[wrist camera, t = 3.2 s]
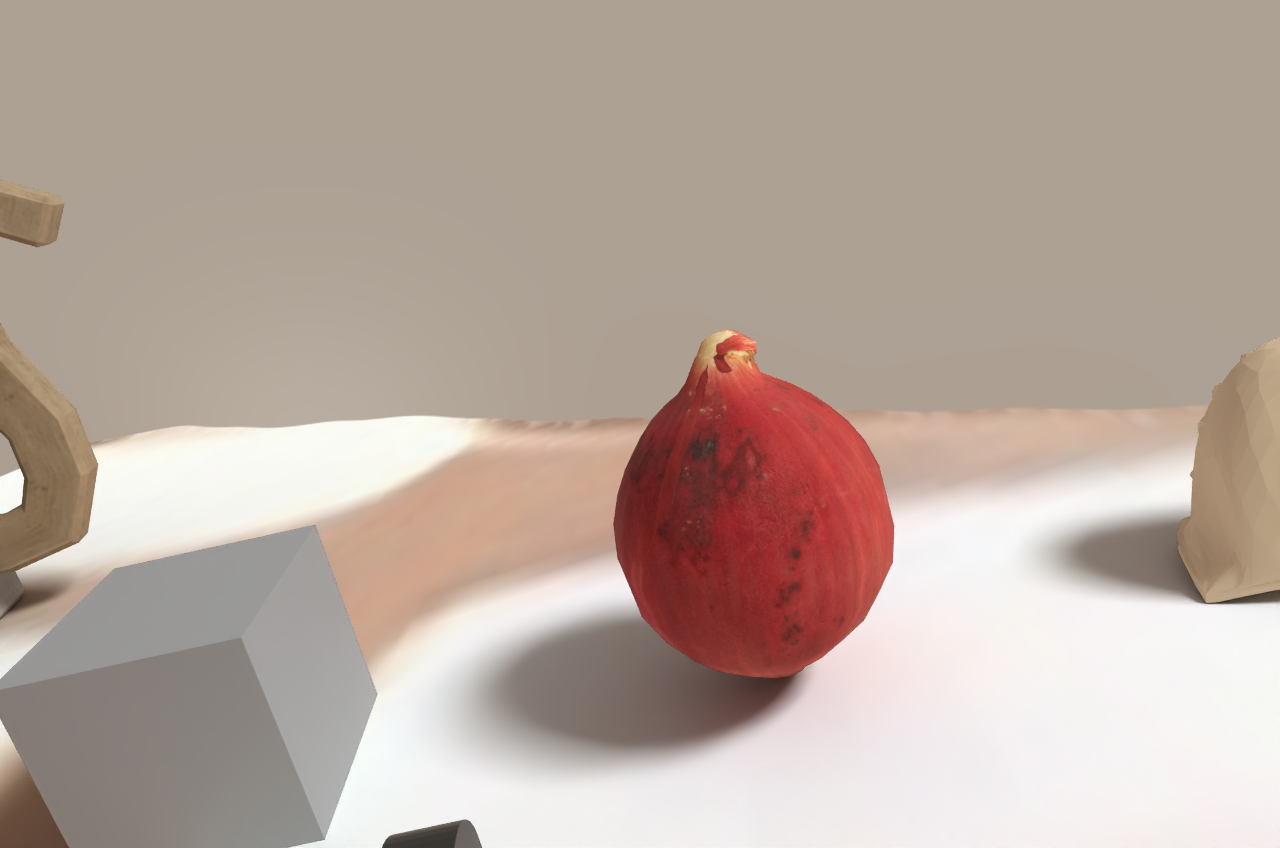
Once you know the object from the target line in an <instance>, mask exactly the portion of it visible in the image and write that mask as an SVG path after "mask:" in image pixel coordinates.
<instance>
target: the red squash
mask: <svg viewBox="0 0 1280 848" xmlns="http://www.w3.org/2000/svg"><path fill="white" fill-rule="evenodd" d="M755 354H756V342H755V341H753V340H751V339H750V338H748V337H746V336H744V335H742V334H741V333H739V332H737V331H733V330H730V329H724V330H723V331H721V332H719V333H715V334H713V335H711V336H710V337H708V338H707V339H705V340H704V341H702V343H701V346H700V348H699V351H698V353H697V356H696V358H695V359H694V362H693V364H692V367H691V370H690V372H689V375H688V378H687V380H686V383H685V384H684V386H683V387H682V389H681V390H680V392H679V393H678V395H677V396H675V397H674V398H673V399H672V400H670V401H669V402H668V403H667V404H666V405H665V406H664V407H663V408H662V409H661V410H660V411H659V412H658V413H657V415H656V416H655V417H654V418H653V419H652V420H651V422H650V423H649V425H648V426H647V428H646V429H645V431H644V433H643V434H642V436H641V437H640V439H639V442H638V444H637V446H636V448H635V450H634V452H633V454H632V456H631V458H630V460H629V462H628V464H627V467H626V469H625V471H624V475H623V478H622V481H621V485H620V488H619V491H618V495H617V502H616V509H615V516H614V524H613V525H614V533H615V541H616V550H617V558H618V560H619V563H620V565H621V567H622V570H623V572H624V575H625V577H626V579H627V582H628V584H629V586H630V589H631V591H632V594H633V596H634V598H635V601H636V603H637V606H638V608H639V610H640V613H641V615H642V617H643V618H644V619H645V620H646V621H647V622H648V623H649V624H650V625H651V627H652V628H653V629H654V630H655V631H656V632H657V633H658V634H659V635H660V636H661V637H662V638H663V639H664V640H665V641H666V642H667V643H668V644H670V645H671V646H673V647H674V648H676V649H677V650H679V651H680V652H682V653H683V654H685V655H686V656H688V657H689V658H691V659H692V660H694V661H695V662H698V663H700V664H702V665H705V666H707V667H709V668H712V669H714V670H716V671H719V672H725V673H731V674H738V675H744V676H750V677H763V678H775V679H779V678H784V677H789V676H792V675H795V674H797V673H798V672H800V671H802V670H803V669H804V667H806V666H808V665H810V664H812V663H813V662H815V661H817V660H819V659H820V658H822V657H823V656H825V655H826V654H827V653H828V652H829V651H830V650H832V649H833V648H834V647H835V646H836V645H837V644H839V643H840V642H841V641H842V640H843V639H844V638H845V637H847V636H848V635H849V634H850V633H851V632H852V631H853V630H854V629H855V628H856V627H857V626H858V625H859V624H860V623H862V622H863V621H864V619H865V618H866V616H867V614H868V612H869V610H870V608H871V606H872V604H873V603H874V601H875V599H876V597H877V595H878V593H879V591H880V589H881V587H882V584H883V582H884V580H885V578H886V576H887V574H888V571H889V569H890V567H891V565H892V563H893V544H894V523H893V519H892V515H891V511H890V507H889V503H888V499H887V495H886V491H885V487H884V483H883V479H882V475H881V471H880V467H879V464H878V463H877V461H876V459H875V457H874V455H873V454H872V452H871V450H870V448H869V447H868V445H867V443H866V441H865V440H864V439H863V438H862V436H861V435H860V434H859V433H858V432H857V431H856V429H855V428H854V427H853V426H852V425H851V424H850V422H849V421H848V420H846V419H845V418H844V417H843V416H841V415H840V414H839V413H838V412H837V411H835V410H834V409H833V408H832V407H830V406H829V405H828V404H826V403H825V402H823V401H822V400H820V399H819V398H817V397H816V396H814V395H813V394H811V393H809V392H807V391H805V390H803V389H801V388H799V387H797V386H795V385H793V384H791V383H788V382H786V381H783V380H780V379H777V378H774V377H772V376H769V375H766V374H764V373H761V372H760V371H759V368H758V366H757V364H756V362H755V360H754V358H753V356H754V355H755Z"/></svg>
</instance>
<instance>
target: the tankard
mask: <svg viewBox="0 0 1280 848" xmlns="http://www.w3.org/2000/svg"><path fill="white" fill-rule="evenodd" d="M63 208H64V202H63V201H62V199H61V198H60V197H59V196H58V195H54V194H50V193H47V192H43V191H39V190H36V189H32V188H28V187H25V186H21V185H17V184H14V183H9V182H6V181H2V180H0V236H1V237H4V238H7V239H10V240H14V241H18V242H21V243H24V244H28V245H32V246H35V247H40V246H44V245H47V244H50V243H52V242H54V241H56V239H57V235H58V230H59V226H60V221H61V217H62V212H63ZM0 432H1V433H2V434H3V435H4V436H5V437H6V438H7V439H8V440H9V442H10V445H11V447H12V450H13V452H14V455H15V457H16V459H17V462H18V464H19V466H20V469H21V471H22V474H23V476H24V486H23V497H22V504H21V505H20V506H18V507H16V508H14V509H13V510H11V511H9V512H7V513H5V514H0V619H1V618H2V617H3V616H4V615H5V614H6V613H7V612H8V611H9V609H10V608H11V607H12V606H13V605H14V604H15V603H16V602H17V601H18V600H19V599H20V597H21V595H22V594H23V592H24V588H23V586H22V584H21V582H20V580H19V578H18V576H17V574H16V572H15V571H17V570H19V569H21V568H23V567H25V566H28V565H30V564H32V563H34V562H37V561H39V560H41V559H43V558H45V557H48V556H50V555H52V554H54V553H56V552H59V551H61V550H63V549H65V548H68V547H70V546H72V545H74V544H76V543H79V542H80V540H81V539H82V538H83V537H84V536H85V535H86V534H87V533H88V528H89V521H90V515H91V508H92V501H93V495H94V488H95V482H96V475H97V468H98V463H97V460H96V458H95V455H94V453H93V450H92V448H91V445H90V443H89V441H88V438H87V435H86V433H85V431H84V428H83V425H82V423H81V420H80V418H79V415H78V413H77V410H76V408H75V407H74V406H73V405H72V404H71V403H70V402H69V401H68V400H67V399H66V398H65V397H64V396H63V395H62V394H61V393H60V391H59V390H57V388H56V387H55V386H54V385H53V384H52V383H51V382H50V381H49V380H48V379H47V378H46V377H45V376H44V375H43V374H42V373H41V372H40V371H39V370H38V369H37V368H36V367H35V366H34V364H32V362H31V361H29V359H28V358H27V357H26V356H25V355H24V354H23V353H22V352H21V351H20V350H19V349H18V348H17V347H16V346H15V345H14V344H13V343H12V342H11V341H10V339H9V337H8V336H7V334H6V332H5V330H4V329H3V327H2V325H1V323H0Z"/></svg>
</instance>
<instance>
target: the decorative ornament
mask: <svg viewBox="0 0 1280 848" xmlns="http://www.w3.org/2000/svg"><path fill="white" fill-rule="evenodd" d="M1212 394H1213V395H1212V401H1211V403H1210V405H1209V407H1208V409H1207V411H1206V413H1205V415H1204V417H1203V418H1202V419H1201V420H1200V422H1199V423H1198V431H1199V436H1198V441H1197V446H1196V451H1195V460H1194V469H1193V471H1192V472H1191V473H1190V476H1191V477H1192V478H1193V481H1192V499H1191V517H1187V518H1184V519H1183V520H1182V521H1181V523H1180V527H1179V530H1178V532H1177V543H1178V549H1179V554H1180V556H1181V558H1182V560H1183V562H1184V564H1185V566H1186V568H1187V570H1188V572H1189V574H1190V576H1191V578H1192V580H1193V582H1194V584H1195V586H1196V587H1197V589H1198V591H1199V592H1200V594H1201V595H1202V597H1203V599H1204V600H1205V602H1206V603H1214V602H1221V601H1225V600H1230V599H1235V598H1239V597H1244V596H1249V595H1254V594H1259V593H1264V592H1269V591H1274V590H1280V337H1277V338H1275V339H1274V340H1272V341H1270V342H1268V343H1266V344H1264V345H1262V346H1260V347H1259V348H1257V349H1256V350H1254V351H1253V352H1252V353H1248V354H1245V355H1242V356H1241V359H1240V362H1239V363H1238V364H1237V365H1236V366H1235V367H1234V368H1233V369H1232V370H1231V372H1230V373H1229V374H1228V376H1227V377H1226V378H1225V379H1224V381H1223V382H1222V383H1220V384H1219V385H1217V386H1215V387H1214V389H1213V391H1212Z"/></svg>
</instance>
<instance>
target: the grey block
mask: <svg viewBox="0 0 1280 848" xmlns="http://www.w3.org/2000/svg"><path fill="white" fill-rule="evenodd" d="M376 697H377V692H376V689H375V686H374V684H373V681H372V678H371V675H370V673H369V670H368V667H367V665H366V662H365V659H364V656H363V654H362V651H361V648H360V645H359V643H358V640H357V637H356V634H355V632H354V629H353V626H352V623H351V621H350V618H349V615H348V613H347V610H346V607H345V604H344V602H343V599H342V596H341V593H340V591H339V588H338V585H337V582H336V580H335V577H334V574H333V571H332V569H331V566H330V563H329V561H328V558H327V555H326V552H325V550H324V547H323V544H322V541H321V539H320V536H319V533H318V530H317V528H316V525H312V526H308V527H303V528H298V529H294V530H289V531H285V532H280V533H276V534H271V535H266V536H262V537H257V538H253V539H248V540H244V541H239V542H235V543H230V544H225V545H221V546H216V547H212V548H207V549H203V550H198V551H193V552H189V553H184V554H180V555H175V556H171V557H166V558H162V559H157V560H152V561H148V562H143V563H139V564H134V565H130V566H125V567H120V568H116V569H114V570H113V571H112V572H111V573H109V574H108V575H107V576H106V577H105V578H104V579H103V580H102V581H101V582H100V583H99V584H98V585H97V586H96V587H95V588H94V589H93V590H92V591H91V592H90V593H89V594H88V595H87V596H86V597H85V598H84V599H83V600H82V601H81V602H80V603H79V604H77V605H76V606H75V607H74V608H73V609H72V610H71V611H70V612H69V613H68V614H67V615H66V616H65V617H64V618H63V619H62V620H61V621H60V622H59V623H58V624H57V625H56V626H55V627H54V628H53V629H52V630H51V631H50V632H49V633H48V634H47V635H45V636H44V637H43V638H42V639H41V640H40V641H39V642H38V643H37V644H36V645H35V646H34V647H33V648H32V649H31V650H30V651H29V652H28V653H27V654H26V655H25V656H24V657H23V658H22V659H21V660H20V661H19V662H18V663H17V664H16V665H15V666H13V667H12V668H11V669H10V670H9V671H8V672H7V673H6V674H5V675H4V676H3V677H2V678H1V679H0V719H1V721H2V723H3V725H4V727H5V728H6V730H7V732H8V734H9V736H10V738H11V740H12V742H13V743H14V745H15V747H16V749H17V751H18V753H19V755H20V757H21V759H22V760H23V762H24V764H25V766H26V768H27V770H28V772H29V774H30V776H31V777H32V779H33V781H34V783H35V785H36V787H37V789H38V791H39V792H40V794H41V796H42V798H43V800H44V802H45V804H46V806H47V808H48V809H49V811H50V813H51V815H52V817H53V819H54V821H55V823H56V825H57V826H58V828H59V830H60V832H61V834H62V836H63V838H64V840H65V842H66V843H67V845H68V847H69V848H288V847H292V846H297V845H302V844H307V843H311V842H316V841H321V840H325V837H326V834H327V832H328V829H329V826H330V823H331V821H332V818H333V815H334V812H335V810H336V807H337V804H338V801H339V799H340V796H341V793H342V790H343V788H344V785H345V782H346V779H347V777H348V774H349V771H350V768H351V766H352V763H353V760H354V757H355V755H356V752H357V749H358V746H359V744H360V741H361V738H362V735H363V733H364V730H365V727H366V724H367V722H368V719H369V716H370V713H371V711H372V708H373V705H374V702H375V699H376Z"/></svg>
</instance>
